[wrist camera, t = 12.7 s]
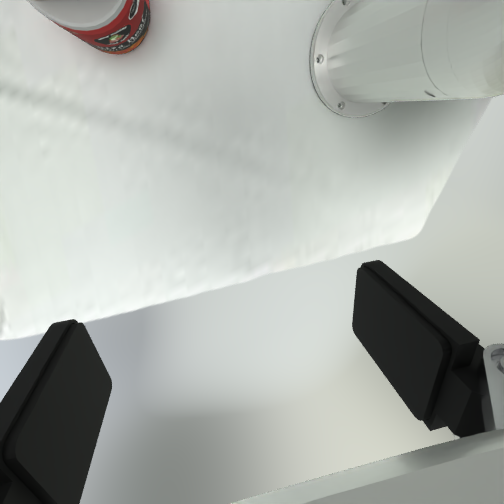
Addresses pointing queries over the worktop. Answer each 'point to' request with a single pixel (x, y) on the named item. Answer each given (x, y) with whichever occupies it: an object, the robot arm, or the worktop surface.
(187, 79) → the worktop surface
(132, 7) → the canned food
